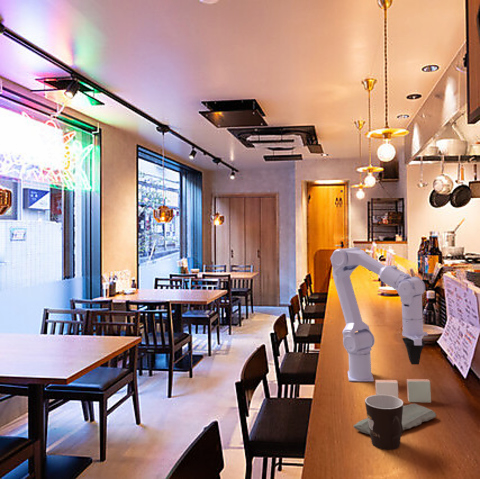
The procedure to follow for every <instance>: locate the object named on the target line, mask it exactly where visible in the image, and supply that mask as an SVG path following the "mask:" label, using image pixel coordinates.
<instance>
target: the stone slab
mask: <svg viewBox="0 0 480 479" xmlns="http://www.w3.org/2000/svg"><path fill="white" fill-rule="evenodd" d="M436 417H437V413H436V412H435V411H433V410H432V409H430V408H427V407H426V406H423V405H419V404H417V403H416V402H413V403H411V404H406V405H403V413H402V427H403V431H405V430H408V429H411V428H413V427H417V426H419V425H422V423H424V422H429V421H430V420H433V419H434V418H436ZM353 428H354V429H355V430H357V431H359V432H360V433H363V434H367V435H370V429H369V423H368V417H366V418H364V419H361V420H359V421H357V423H355V424H353Z"/></svg>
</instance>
